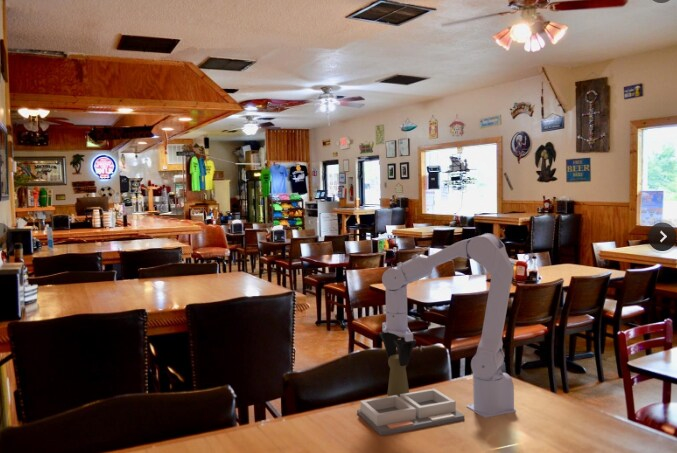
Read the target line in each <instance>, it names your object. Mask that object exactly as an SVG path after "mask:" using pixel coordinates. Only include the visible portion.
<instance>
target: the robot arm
mask: <svg viewBox="0 0 677 453" xmlns="http://www.w3.org/2000/svg"><path fill="white" fill-rule="evenodd" d="M457 258H462V259H469V258H470V259H472V260H473V261H474V262H476V263H478V264H479V265H480V266H482V267H483V268H485V270H486V271H487V272H488V274H490V275H491V278H490V282H489V290H488V295H487V301H486V305H485V306H486V308H485V312H484V313H485V314H484V318H483V319H484V320H483V326H482V330H481V332H482V333H481V337H480V341H479V343H478V345H477V349H476V353H475V354H474V355H473V357H472V359H471V362H470V368H471V371H472V374H473V375H472V378H473V379H472V381H473V382H472V386H473V387H472V388H473V390H472V391H473V394H472V395H473V403H470V404H467V405H466V408H468V409H469V410H471V411H472V412H474V413H476V414H477V415H478V416H481V417H482V418H485V419H487V418H491V417H496V416H497V417H498V416H501V415H502V416H503V415H507V414H512V413H516V412H517V409H515V387H514V382H513V379H512V377H511V376H510V374H508V373H507V372H503V370H502V369H501V366H503V364H504V361H505V355H504V352H503V345H504V343H503V333H504V330H505V329H504V327H505V322H506V317H507V316H506V315H507V310H508V304H509V299H510V293H511V287H512V281H513V277H514V276H513V275H514V268H513V265H512V264H513V263H512V262H511V260H510V258H509V255H508V253H507V250H506V246H505V244H504V243H503V242H502V240H500V238H499V237H498V236H497V235H495V234H493V233H488V232H487V233H483V234H481V235H477V236H474V237H471V238H468V239H467V238H466V239H463V240H460V241H457V242H454V243H453V244H451V245H449V246H447V247H445V248H443V249H441V250H438V251H437V252H435V253H433V254H431V255H429V256H428V255H426V254H425V255H424V254H418V253H416V254H413V255H412V256H411V259H410V258H409V260H405V261H404V262H401V261H400V262H398V263H396V266H394V267H389V268H387V270H385V271H384V272H383V274H382V276H381V282H382V284H383V286H384V287H385V321H384V322H382V323H381V324H382V326H381V327H382V331H381V332H379V337H380V338H381V341H382V343H383V346H384V350H385V353H386V357H387V359H389V357H390V356H392V355H396V354H398V356H399V363H400V366H406V367H407V366H409V363H410V359H411V355H412V351H413V349H414V347H415V345H416V344H417V340H416V339H415V338H414V333H412V332H411V330H410V328H409V325H408V320H409V319H408V293H407V292H408V287H407V286H408V284H412V283H414V282H416V281H417V282H418V281H419V280H422V279H423V278H426V277H428V276H430V275H431V274H432V273H433V269H434V268H435V267H437V266H440V265H442V264H445V263H447V262H450V261H451V260H454V259H457Z"/></svg>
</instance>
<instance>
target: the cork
mask: <svg viewBox="0 0 677 453" xmlns="http://www.w3.org/2000/svg"><path fill="white" fill-rule="evenodd" d="M387 363H388V367H389V368H390V369H389V375H388V376H389V379H388V388H387V394H386V395H388V396H393V395H397V396H399V397H400V394H405V393H410V388H409V382H408V376H407V369H406V368H407V366H400V363H399V356H398V353H396V355H392V356H390V357H389V358H387Z"/></svg>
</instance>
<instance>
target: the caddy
mask: <svg viewBox="0 0 677 453" xmlns="http://www.w3.org/2000/svg"><path fill="white" fill-rule="evenodd" d="M359 402H360V404H359V406H360V409H357V410H356V414H357V413H358V414H359V415H358V414H357V415H358V416H359V417H360V418H361V419H363V421H365V422H366V423H367V424H368V425H369V426H370V427H371V428H372V429H373V430H374V431H375V432H376V433H377V434H379V435H380V436H381V437H382V436H387V435H393V434H398V433H402V432H403V433H404V432H408V431H414V430H419V429H425V428H429V427H434V426H438V425H444V424H449V423H455V422H460V421H464V420H465V415H464V414H462V412H460V411H458V410H457V409H456V408H457V404H456V400H454V399H452V398H451V397H449V396H447V395H446V394H444V393H442V392H441V391H439V390H438V389H436V388H429V389H424V390H418V391H412V392H409V393H405V394H400V397H399V396H397V395H393V396H382V397H377V398H372V399H371V398H370V399H365V400H359Z"/></svg>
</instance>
